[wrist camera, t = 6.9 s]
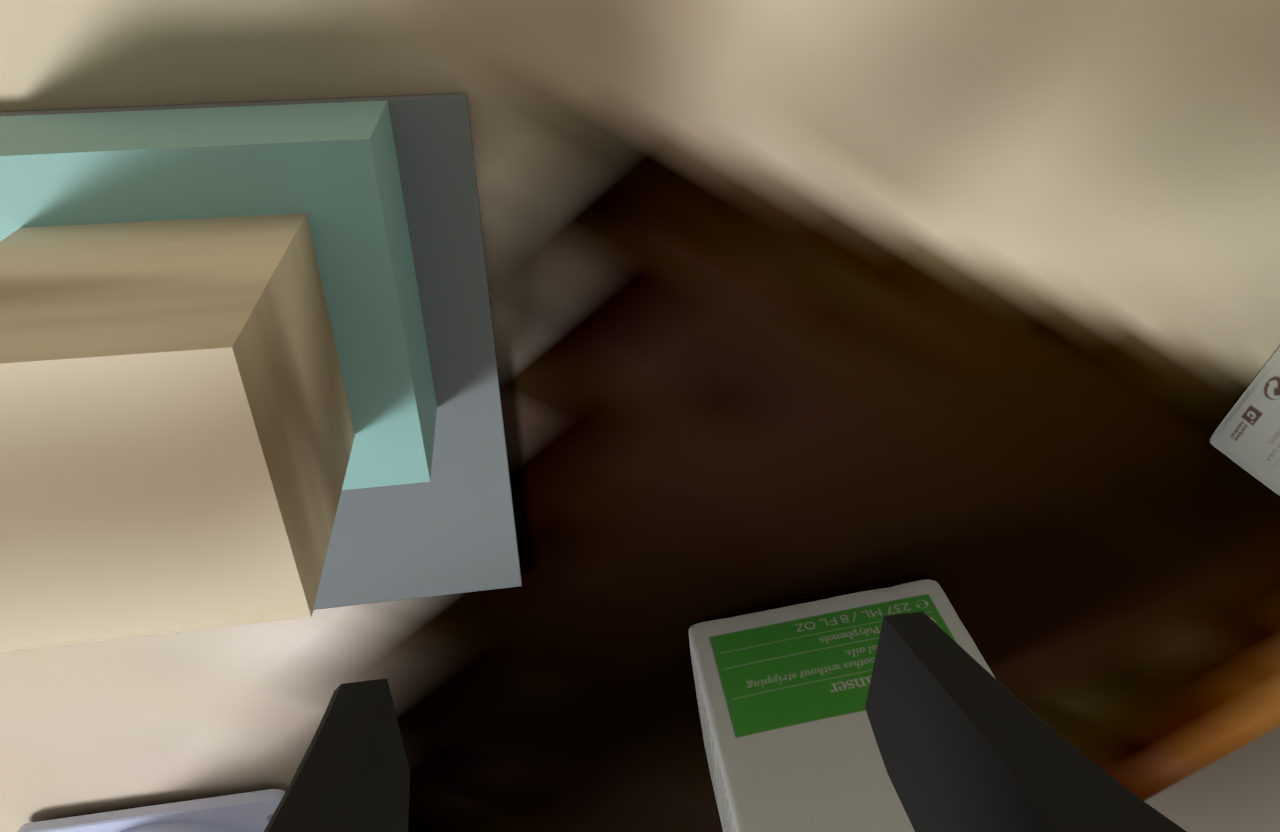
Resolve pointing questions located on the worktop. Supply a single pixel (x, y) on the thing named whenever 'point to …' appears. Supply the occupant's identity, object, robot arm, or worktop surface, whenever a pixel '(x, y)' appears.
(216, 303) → the maple block
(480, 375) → the mat
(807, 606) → the skincare box
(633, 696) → the worktop surface
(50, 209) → the plinth
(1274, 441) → the supplement box
